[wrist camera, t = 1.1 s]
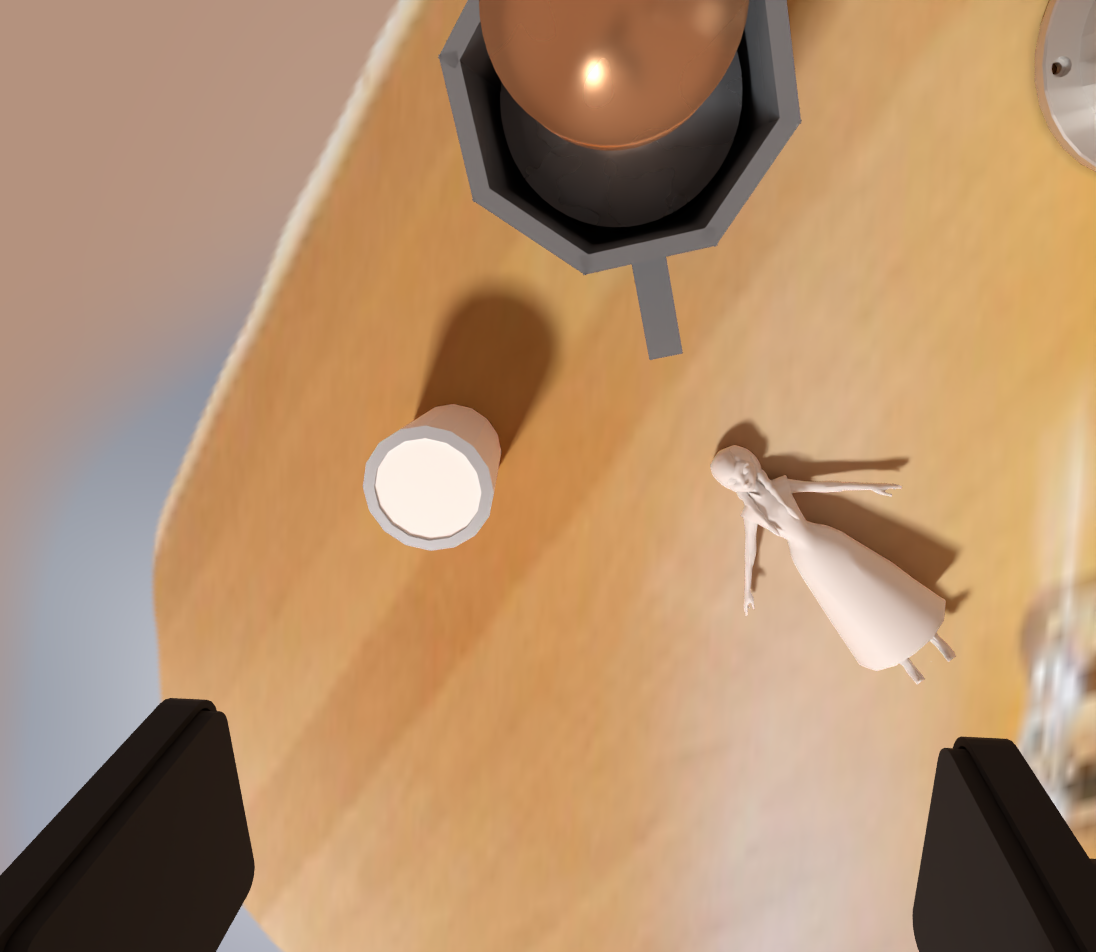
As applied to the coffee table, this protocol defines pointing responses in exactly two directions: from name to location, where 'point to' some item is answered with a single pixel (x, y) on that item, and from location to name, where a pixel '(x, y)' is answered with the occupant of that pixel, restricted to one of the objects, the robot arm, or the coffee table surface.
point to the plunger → (617, 99)
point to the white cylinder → (434, 478)
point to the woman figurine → (837, 567)
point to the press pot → (644, 246)
